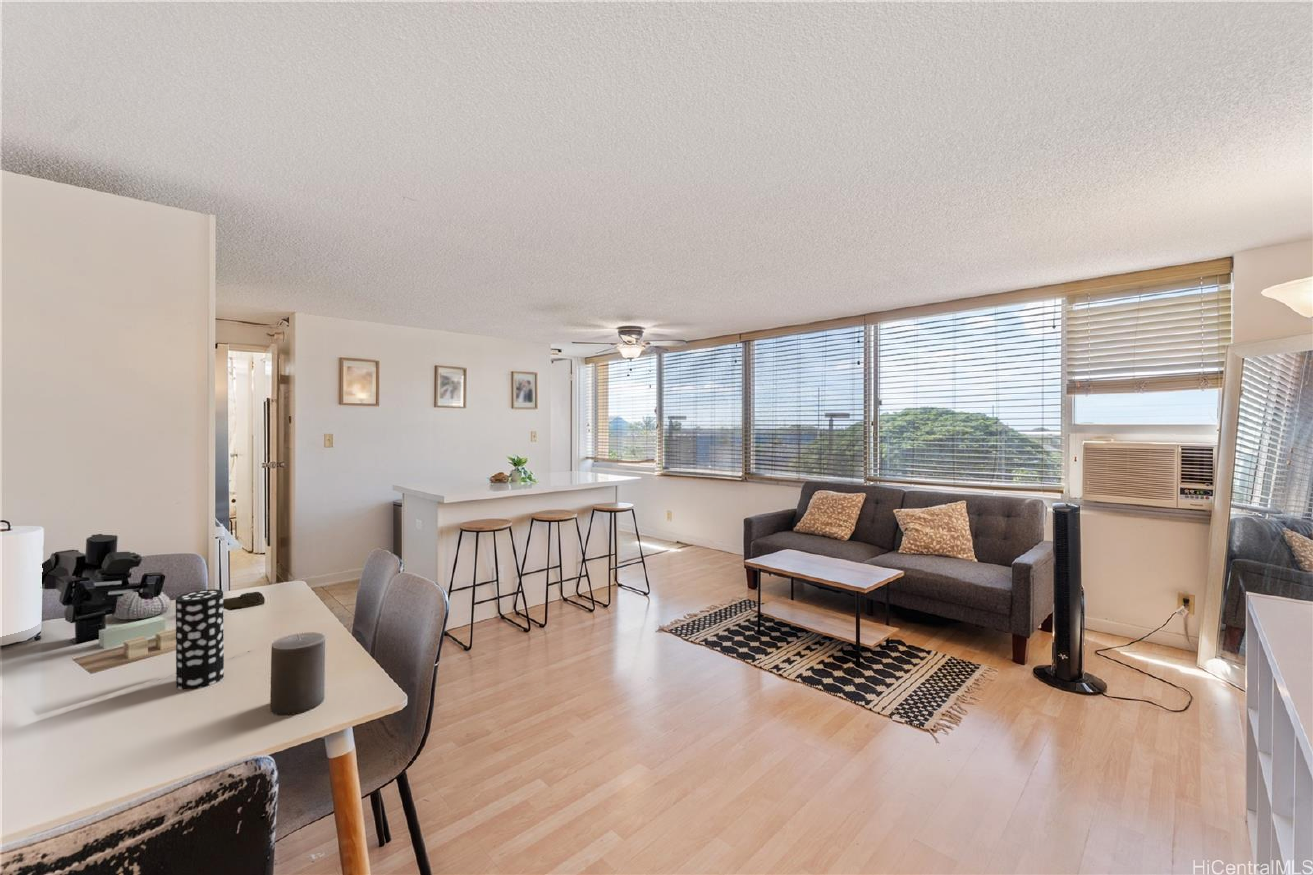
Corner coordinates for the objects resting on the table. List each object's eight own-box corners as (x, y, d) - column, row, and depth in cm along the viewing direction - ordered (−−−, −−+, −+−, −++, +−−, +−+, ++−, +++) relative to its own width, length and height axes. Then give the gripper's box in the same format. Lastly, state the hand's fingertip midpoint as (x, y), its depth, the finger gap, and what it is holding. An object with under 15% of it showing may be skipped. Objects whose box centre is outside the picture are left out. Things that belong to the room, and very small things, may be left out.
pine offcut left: (123, 655, 133) (123, 641, 133) (142, 650, 136) (142, 636, 136) (128, 658, 131) (128, 644, 131) (147, 653, 134) (147, 639, 134)
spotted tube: (232, 676, 126) (231, 591, 126) (191, 692, 119) (191, 603, 118) (208, 670, 129) (207, 587, 128) (167, 686, 121) (166, 598, 121)
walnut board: (72, 665, 130) (72, 659, 130) (195, 632, 151) (195, 627, 151) (91, 680, 123) (91, 673, 123) (218, 643, 144) (217, 638, 144)
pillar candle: (283, 720, 108) (284, 647, 108) (261, 706, 113) (262, 635, 113) (334, 700, 116) (335, 632, 116) (311, 688, 122) (312, 622, 121)
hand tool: (186, 618, 162) (186, 603, 162) (188, 614, 166) (188, 599, 166) (263, 607, 173) (263, 593, 173) (264, 604, 176) (264, 589, 176)
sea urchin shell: (136, 608, 170) (135, 583, 169) (183, 607, 171) (182, 582, 171) (97, 624, 157) (96, 596, 156) (148, 622, 158) (148, 595, 158)
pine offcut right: (155, 646, 138) (155, 633, 138) (173, 642, 141) (173, 628, 141) (160, 649, 136) (160, 636, 136) (178, 645, 139) (178, 631, 139)
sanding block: (99, 651, 139) (98, 630, 139) (159, 635, 149) (159, 616, 149) (104, 655, 137) (103, 633, 136) (165, 639, 147) (165, 619, 147)
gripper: (62, 549, 132) (86, 570, 125) (158, 546, 149) (184, 565, 141) (49, 594, 132) (72, 617, 124) (146, 586, 148) (172, 606, 141)
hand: (128, 599), depth 133 cm, fingers open, 9 cm apart
